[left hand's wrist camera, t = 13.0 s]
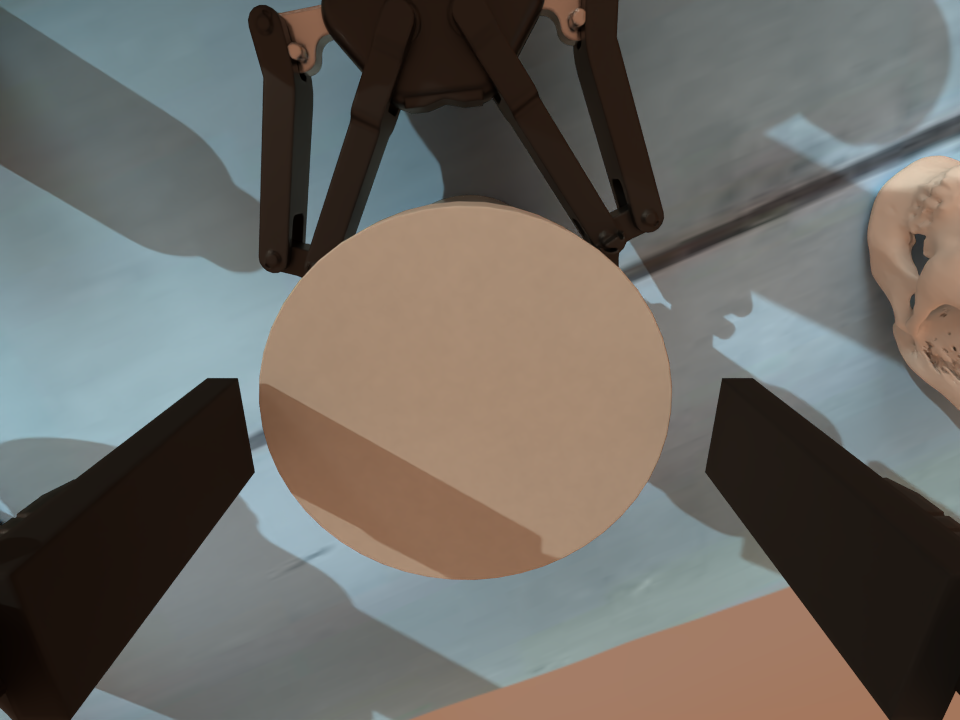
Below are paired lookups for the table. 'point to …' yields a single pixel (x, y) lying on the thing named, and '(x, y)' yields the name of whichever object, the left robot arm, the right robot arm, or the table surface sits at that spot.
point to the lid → (465, 391)
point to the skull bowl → (944, 279)
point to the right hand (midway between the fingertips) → (479, 394)
